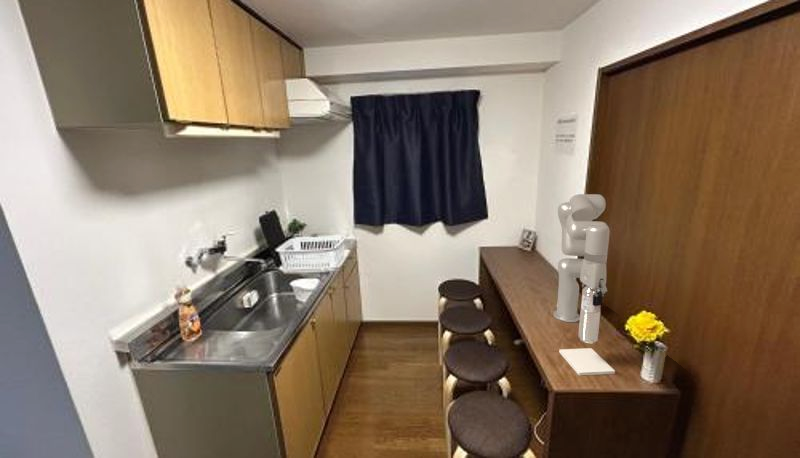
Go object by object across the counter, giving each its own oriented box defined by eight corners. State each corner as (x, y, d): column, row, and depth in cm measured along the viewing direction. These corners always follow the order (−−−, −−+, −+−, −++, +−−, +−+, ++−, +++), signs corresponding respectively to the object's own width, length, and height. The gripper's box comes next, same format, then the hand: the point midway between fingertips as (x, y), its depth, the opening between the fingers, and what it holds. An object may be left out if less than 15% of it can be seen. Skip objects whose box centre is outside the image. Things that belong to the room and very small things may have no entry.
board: (559, 352, 147) (559, 349, 147) (591, 350, 147) (591, 348, 147) (579, 375, 132) (579, 372, 131) (614, 373, 132) (615, 371, 132)
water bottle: (591, 334, 141) (596, 277, 135) (601, 343, 134) (607, 283, 129) (574, 335, 140) (579, 278, 135) (584, 344, 134) (589, 284, 128)
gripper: (573, 251, 138) (570, 292, 142) (599, 265, 121) (594, 311, 125) (592, 251, 138) (588, 292, 142) (620, 264, 121) (614, 310, 125)
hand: (591, 300), depth 134 cm, fingers closed on water bottle, 6 cm apart
